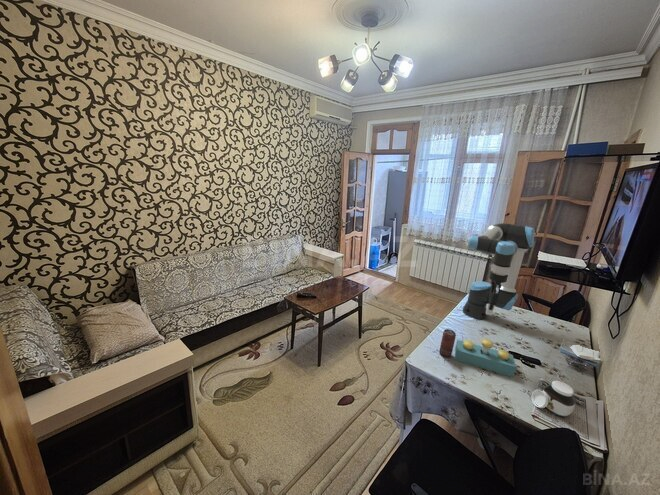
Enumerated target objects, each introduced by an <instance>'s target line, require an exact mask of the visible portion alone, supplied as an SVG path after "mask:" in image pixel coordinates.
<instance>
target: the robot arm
mask: <svg viewBox="0 0 660 495" xmlns="http://www.w3.org/2000/svg"><path fill="white" fill-rule="evenodd" d="M535 233H536V231H535V229H534V227H531V226H526V225H520V224H513V223H512V224H511V223H504V222H503V223H497V224H492V225H490V226H488V227H487V228H486V230H485V232H483V233H482V234H481V235H479V236H478V235H471V236H470V237H469V240H468V242H467V248H468V249H470V250H473V251H475V252H477V251H478V252H483V253H486V254H489V255H490V254H492V255H494V256H493V261H492V264H490V267H491V269H490V270H491V271H490V272H489V276H488V279H490V280H491V283H489V282H487V281H482V280H481V281H480V280H477V281H476V280H475V281H472V283H471V285H470V288H469V293H468V296H467V300H466V302H465V303H464V305H463V306H462V312H463V314H465V315H466V316H467V315H468V316H467V317H470V316H471V317H470V318H472V317H473V319H476V318H477V320H484V319H487V317H488V315H489V316H492V315H493V313H494V309H495V307H496V308H499V309H501V310H506V311H511V310H512V309H513V308H514V305H515V303H516V301H517V299H518V297H519V294H518V293H517V289H515V287H516V284H517V281H518V277H519V273H520V269H521V267H522V263H523V259H524V256H525V252H527V251H529V250H530V248H532V247H534V241H535Z"/></svg>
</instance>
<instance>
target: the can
mask: <svg viewBox="0 0 660 495" xmlns="http://www.w3.org/2000/svg"><path fill="white" fill-rule="evenodd" d="M456 336H457V333H456V332H455V331H453V330H452V329H449V328H447V329H444V330H443V332H442V338H441V342H440V348H439V350H438V351H439V355H440V356H441V357H443V358H446V359H449V358H451V357H452V355H453V354H452V353H453V351H454V350H453V349H454V346H455V342H456Z"/></svg>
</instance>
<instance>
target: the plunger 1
mask: <svg viewBox="0 0 660 495" xmlns="http://www.w3.org/2000/svg"><path fill="white" fill-rule="evenodd" d="M463 341H464V342H463V346H464V349H467V350H471V349H473V346H474V344H475V343H474V342H472V341H470V340H466V339H465V340H463Z"/></svg>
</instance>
